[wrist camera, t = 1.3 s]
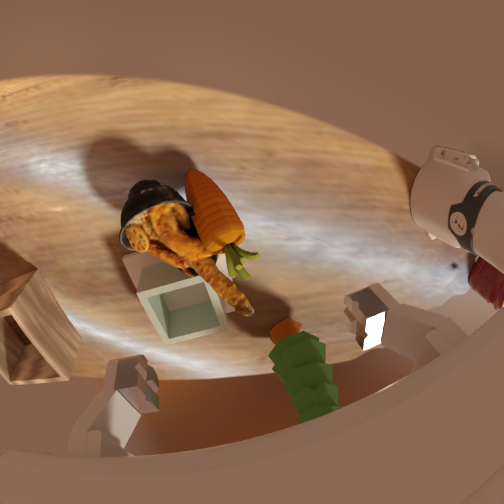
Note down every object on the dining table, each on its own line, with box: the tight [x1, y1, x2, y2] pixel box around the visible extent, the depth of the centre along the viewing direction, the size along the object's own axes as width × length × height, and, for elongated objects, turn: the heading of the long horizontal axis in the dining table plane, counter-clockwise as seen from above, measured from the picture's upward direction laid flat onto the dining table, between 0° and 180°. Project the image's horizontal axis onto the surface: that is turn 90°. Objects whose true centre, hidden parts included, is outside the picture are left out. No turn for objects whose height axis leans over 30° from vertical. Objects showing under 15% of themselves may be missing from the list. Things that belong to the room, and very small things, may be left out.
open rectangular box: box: [122, 251, 235, 345], centre depth 37 cm, size 14×14×7 cm
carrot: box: [185, 169, 260, 280], centre depth 30 cm, size 5×5×15 cm
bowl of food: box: [119, 180, 254, 316], centre depth 29 cm, size 9×11×18 cm
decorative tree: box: [268, 318, 341, 424], centre depth 37 cm, size 10×9×30 cm
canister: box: [469, 256, 504, 310], centre depth 51 cm, size 13×13×18 cm
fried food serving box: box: [0, 269, 81, 385], centre depth 32 cm, size 17×15×10 cm
